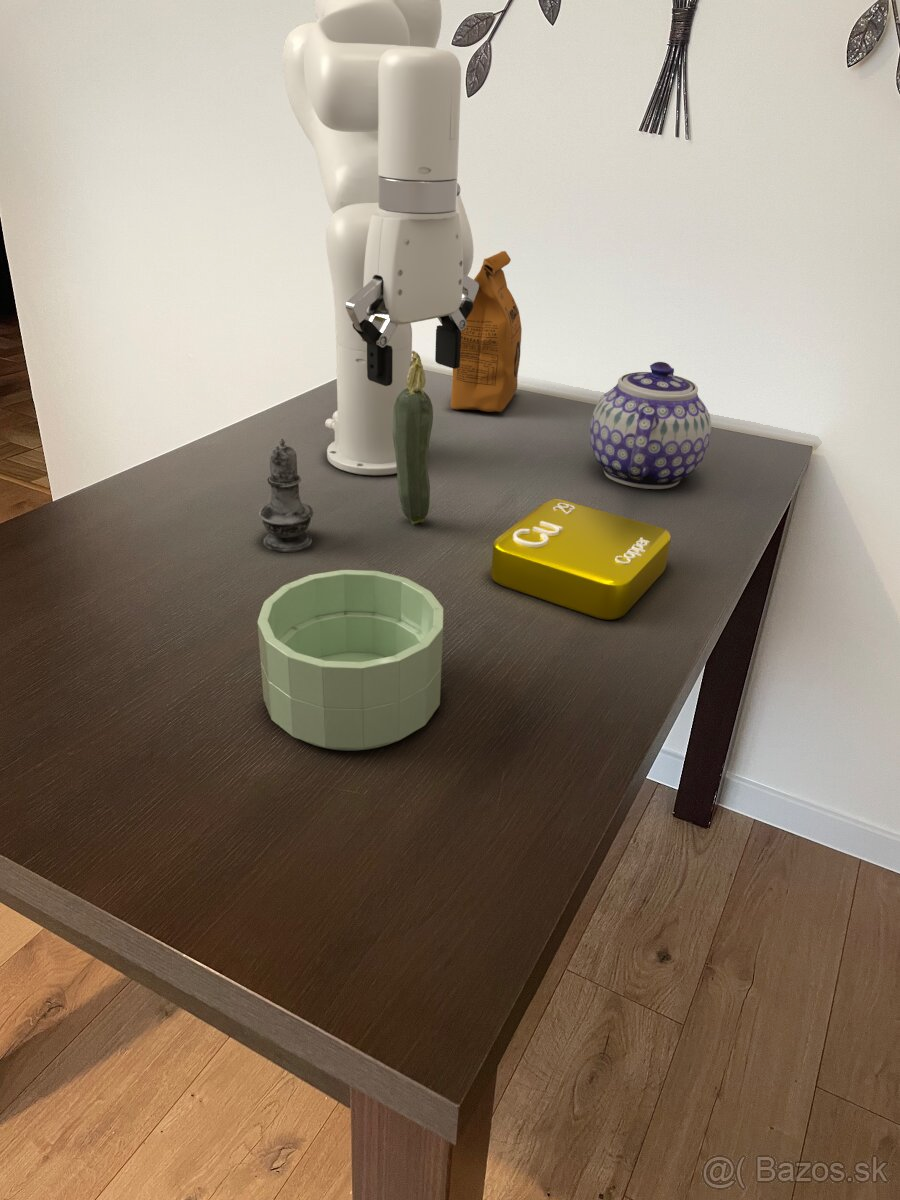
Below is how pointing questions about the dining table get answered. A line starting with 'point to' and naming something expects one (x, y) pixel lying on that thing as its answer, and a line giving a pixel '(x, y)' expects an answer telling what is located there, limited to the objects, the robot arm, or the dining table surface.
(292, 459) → the salt shaker
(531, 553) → the element tile
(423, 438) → the vegetable
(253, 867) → the dining table surface
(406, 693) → the bowl
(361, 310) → the robot arm
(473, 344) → the coffee package
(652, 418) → the teapot
